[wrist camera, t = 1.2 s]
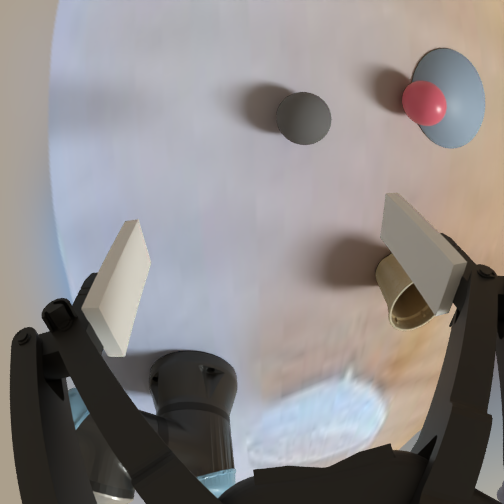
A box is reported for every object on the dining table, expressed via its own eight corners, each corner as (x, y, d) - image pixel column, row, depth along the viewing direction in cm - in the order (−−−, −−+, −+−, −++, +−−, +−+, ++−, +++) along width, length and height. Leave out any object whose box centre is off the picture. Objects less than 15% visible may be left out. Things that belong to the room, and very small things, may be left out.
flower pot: (365, 301, 46) (387, 340, 39) (363, 251, 41) (390, 288, 34) (416, 283, 46) (443, 317, 38) (419, 233, 41) (452, 265, 34)
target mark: (416, 153, 35) (417, 153, 35) (403, 46, 28) (404, 46, 28) (485, 143, 35) (486, 144, 34) (479, 52, 27) (479, 52, 27)
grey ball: (277, 144, 33) (288, 155, 28) (267, 96, 30) (277, 98, 26) (325, 134, 33) (343, 144, 28) (316, 87, 30) (334, 89, 25)
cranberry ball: (396, 123, 33) (421, 132, 28) (390, 80, 30) (416, 82, 25) (430, 120, 33) (457, 128, 28) (426, 78, 30) (453, 82, 25)
